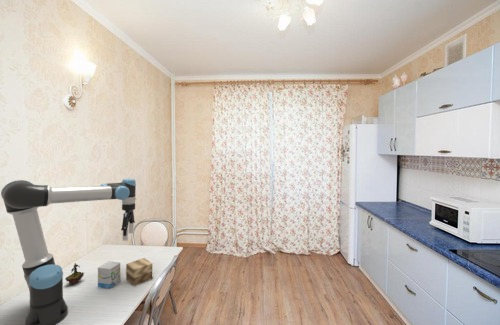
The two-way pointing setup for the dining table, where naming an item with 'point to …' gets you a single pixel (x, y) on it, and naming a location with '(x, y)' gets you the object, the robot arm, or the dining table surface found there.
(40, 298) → the robot arm
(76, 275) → the figurine
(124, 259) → the dining table surface
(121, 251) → the dining table surface
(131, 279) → the slab bottom
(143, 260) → the slab top
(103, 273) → the ink box
